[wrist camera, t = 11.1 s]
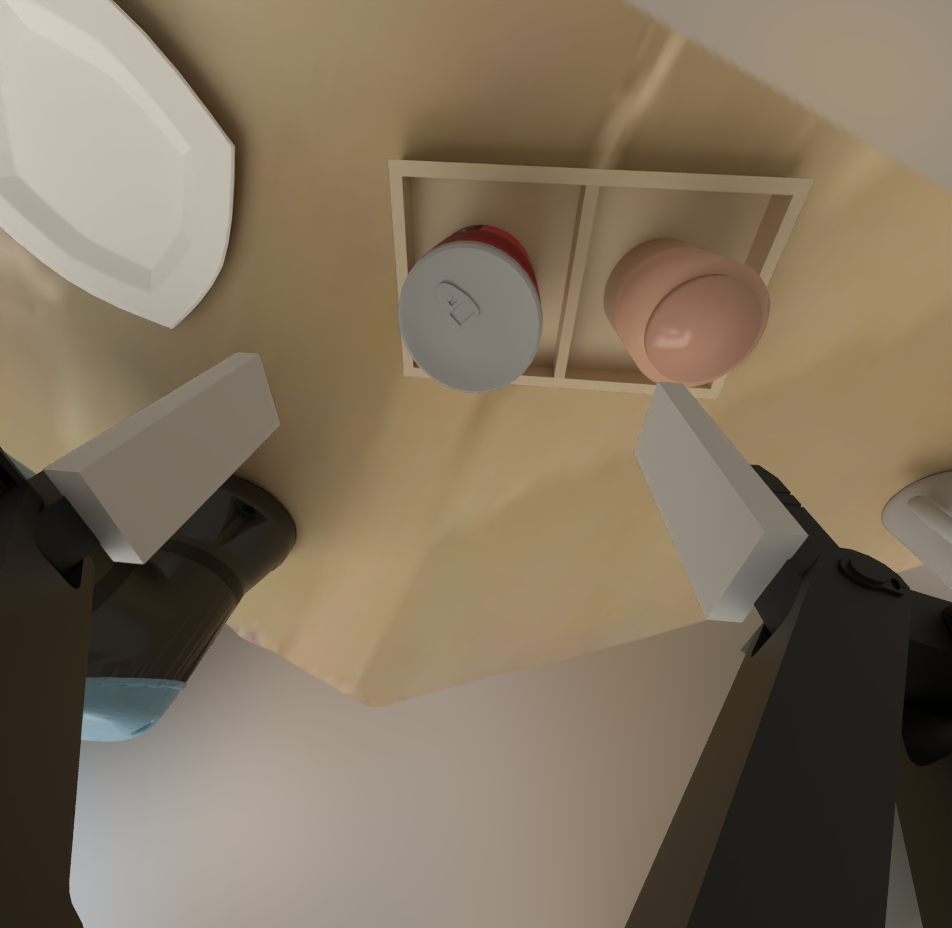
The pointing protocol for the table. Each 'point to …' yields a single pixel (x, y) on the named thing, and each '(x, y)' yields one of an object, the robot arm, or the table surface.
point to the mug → (925, 522)
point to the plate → (110, 159)
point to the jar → (685, 310)
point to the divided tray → (589, 243)
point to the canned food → (472, 310)
